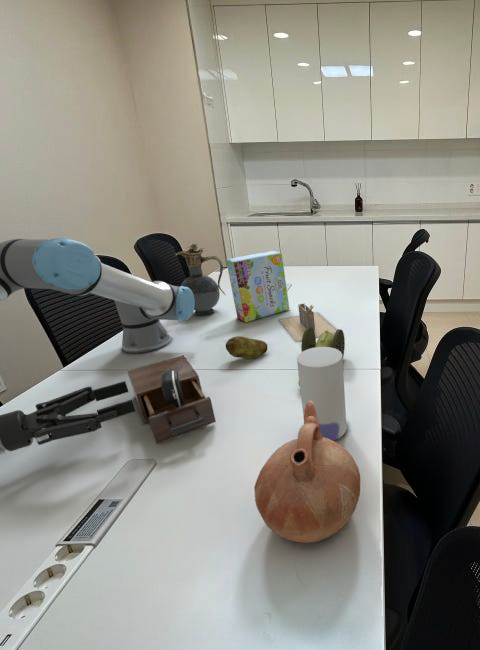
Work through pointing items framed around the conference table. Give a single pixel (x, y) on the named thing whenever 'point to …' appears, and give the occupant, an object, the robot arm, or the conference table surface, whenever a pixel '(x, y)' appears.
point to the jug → (308, 485)
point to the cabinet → (159, 378)
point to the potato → (246, 347)
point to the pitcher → (201, 281)
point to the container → (324, 388)
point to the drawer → (178, 412)
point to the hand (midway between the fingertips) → (130, 395)
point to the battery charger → (172, 389)
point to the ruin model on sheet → (306, 323)
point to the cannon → (323, 340)
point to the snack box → (258, 285)
